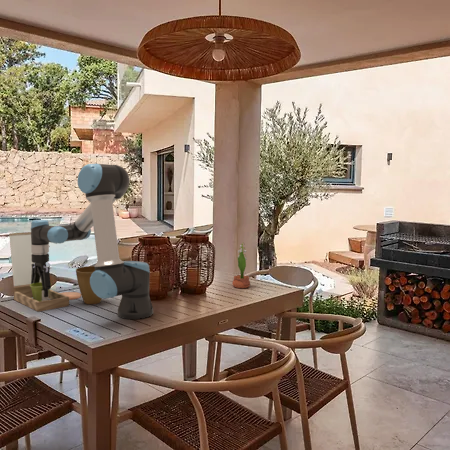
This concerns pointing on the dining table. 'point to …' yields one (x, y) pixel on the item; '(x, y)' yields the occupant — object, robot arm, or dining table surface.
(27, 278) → the frame lid
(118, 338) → the dining table surface
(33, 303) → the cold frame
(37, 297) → the plant pot
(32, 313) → the dining table surface
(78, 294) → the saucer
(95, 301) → the plant pot
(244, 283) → the potted flower
